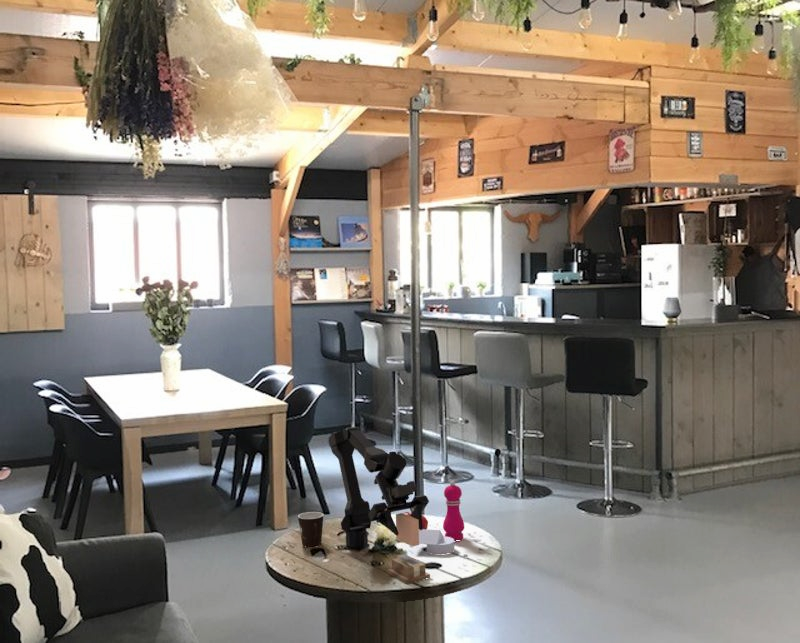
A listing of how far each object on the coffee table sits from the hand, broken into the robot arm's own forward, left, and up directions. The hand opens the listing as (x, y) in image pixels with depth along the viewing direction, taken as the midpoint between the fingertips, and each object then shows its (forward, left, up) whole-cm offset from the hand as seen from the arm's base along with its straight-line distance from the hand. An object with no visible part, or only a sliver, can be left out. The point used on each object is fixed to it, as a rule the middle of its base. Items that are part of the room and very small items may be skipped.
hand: (409, 532), depth 243 cm
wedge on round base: (-5, +25, -14) cm, 29 cm away
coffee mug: (-45, +12, -14) cm, 48 cm away
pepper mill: (-4, +38, -14) cm, 41 cm away
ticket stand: (-1, +1, -14) cm, 14 cm away
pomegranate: (-19, +37, -14) cm, 44 cm away
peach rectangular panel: (-1, +1, -3) cm, 4 cm away
